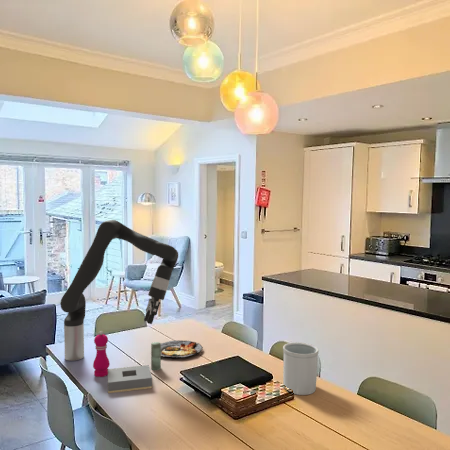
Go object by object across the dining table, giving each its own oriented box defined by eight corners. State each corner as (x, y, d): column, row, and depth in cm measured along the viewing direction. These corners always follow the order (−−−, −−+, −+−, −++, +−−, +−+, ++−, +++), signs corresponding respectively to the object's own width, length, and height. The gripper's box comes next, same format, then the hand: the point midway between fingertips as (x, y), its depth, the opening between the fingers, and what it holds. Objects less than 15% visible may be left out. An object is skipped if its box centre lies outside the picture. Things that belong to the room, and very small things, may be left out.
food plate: (205, 344, 230) (205, 338, 230) (198, 361, 207) (198, 354, 207) (160, 343, 233) (160, 337, 233) (149, 360, 210) (149, 353, 210)
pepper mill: (104, 378, 187) (104, 334, 186) (90, 376, 188) (89, 333, 187) (112, 371, 194) (112, 329, 193) (98, 370, 195) (97, 328, 194)
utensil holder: (295, 377, 190) (296, 339, 188) (324, 388, 179) (325, 348, 178) (275, 387, 179) (275, 347, 178) (304, 399, 169) (305, 357, 168)
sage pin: (150, 367, 199) (150, 342, 199) (160, 366, 201) (160, 341, 200) (151, 370, 195) (151, 345, 194) (161, 369, 196) (161, 344, 196)
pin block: (107, 379, 186) (107, 369, 186) (148, 374, 191) (148, 364, 191) (108, 393, 173) (107, 382, 172) (152, 388, 178) (152, 377, 177)
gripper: (148, 285, 199) (137, 318, 196) (154, 286, 186) (142, 322, 183) (163, 289, 201) (152, 322, 198) (170, 291, 188) (158, 326, 185)
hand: (147, 322), depth 190 cm, fingers open, 8 cm apart
